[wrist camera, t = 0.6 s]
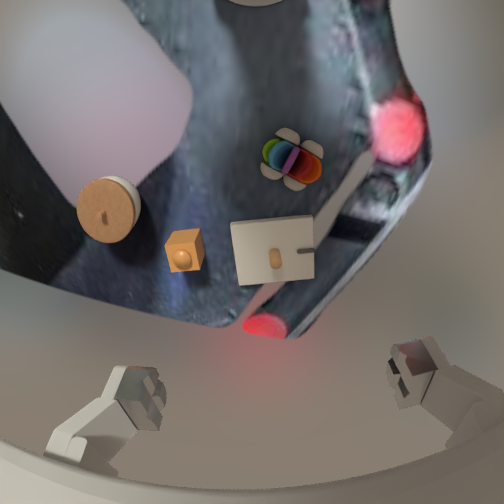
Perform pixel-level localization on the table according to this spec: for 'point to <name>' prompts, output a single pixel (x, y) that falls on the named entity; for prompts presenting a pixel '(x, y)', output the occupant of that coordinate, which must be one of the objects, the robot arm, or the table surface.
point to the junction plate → (273, 237)
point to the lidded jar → (108, 208)
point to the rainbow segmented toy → (292, 160)
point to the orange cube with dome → (185, 250)
